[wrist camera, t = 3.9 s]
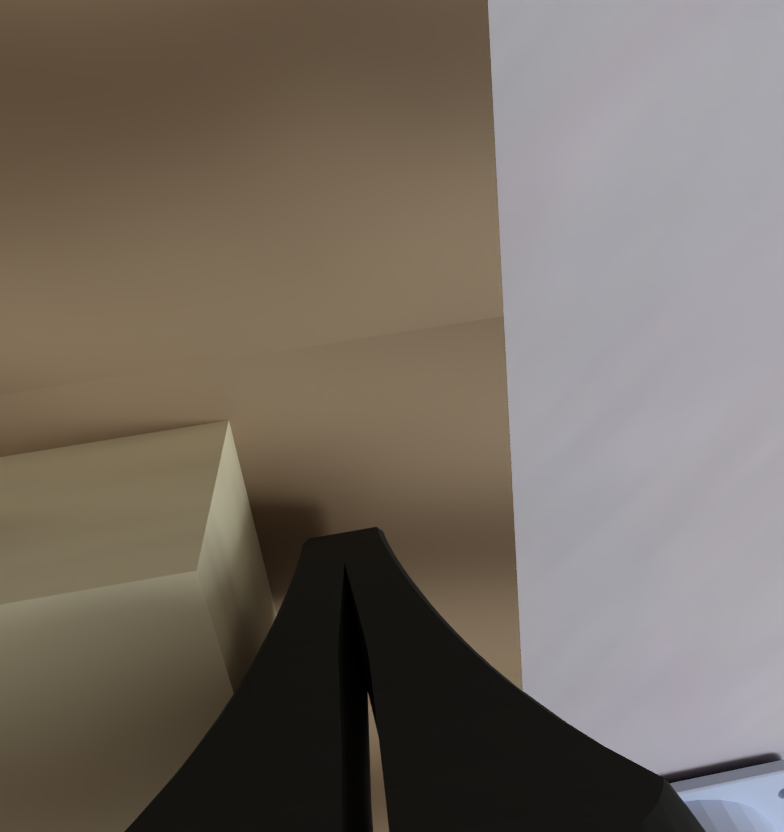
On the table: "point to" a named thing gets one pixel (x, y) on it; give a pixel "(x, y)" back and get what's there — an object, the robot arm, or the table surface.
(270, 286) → the trap deck
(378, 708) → the robot arm
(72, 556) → the maple block
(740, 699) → the table surface
